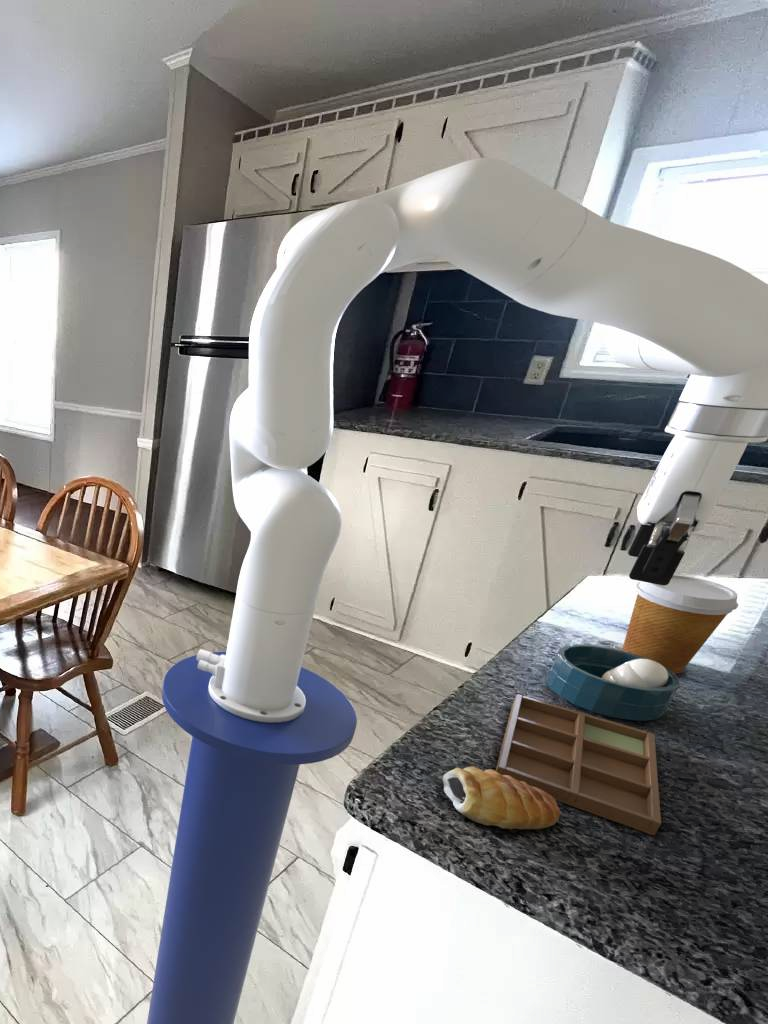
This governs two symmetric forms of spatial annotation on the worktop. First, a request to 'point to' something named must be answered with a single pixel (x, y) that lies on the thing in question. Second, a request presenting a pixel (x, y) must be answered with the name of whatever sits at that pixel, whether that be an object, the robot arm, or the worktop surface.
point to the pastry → (499, 799)
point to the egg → (639, 674)
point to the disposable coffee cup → (676, 619)
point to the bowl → (606, 684)
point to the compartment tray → (583, 762)
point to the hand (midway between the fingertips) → (645, 569)
